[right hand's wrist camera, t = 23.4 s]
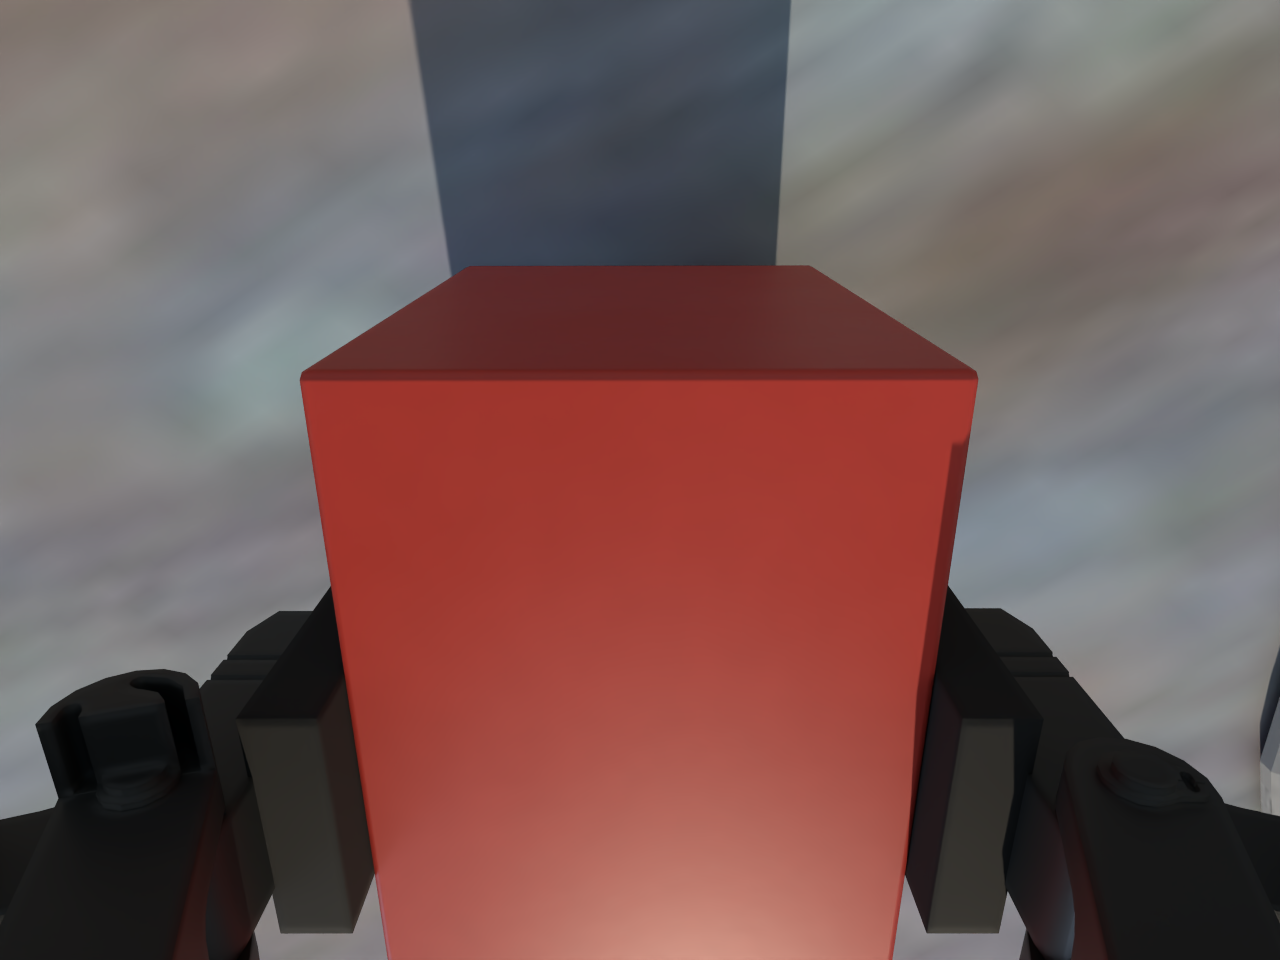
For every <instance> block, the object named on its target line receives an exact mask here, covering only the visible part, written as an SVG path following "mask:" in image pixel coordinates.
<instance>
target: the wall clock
mask: <svg viewBox="0 0 1280 960" xmlns="http://www.w3.org/2000/svg"><path fill="white" fill-rule="evenodd" d="M1260 786H1261V812H1263V813H1268V814H1272V815H1277V816H1280V698H1279V701H1278V705H1277V708H1276V711H1275V714H1274V717H1273V721H1272V724H1271V727H1270V730H1269V733H1268V737H1267V740H1266V743H1265V746H1264V749H1263V752H1262V756H1261V759H1260Z"/></svg>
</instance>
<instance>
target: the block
mask: <svg viewBox="0 0 1280 960" xmlns="http://www.w3.org/2000/svg"><path fill="white" fill-rule="evenodd" d="M977 384H978V376H977V372H976V371H975V370H973V369H972V368H970V367H969V366H967V365H966V364H964V363H962V362H961V361H959V360H958V359H956V358H955V357H953V356H951V355H950V354H948V353H947V352H945V351H943V350H942V349H940V348H939V347H937V346H936V345H934V344H932V343H931V342H929V341H928V340H926V339H925V338H923V337H921V336H920V335H918V334H917V333H915V332H914V331H912V330H910V329H909V328H907V327H906V326H904V325H903V324H901V323H899V322H898V321H896V320H895V319H893V318H892V317H890V316H888V315H887V314H885V313H884V312H882V311H881V310H879V309H877V308H876V307H874V306H873V305H871V304H870V303H868V302H866V301H865V300H863V299H862V298H860V297H859V296H857V295H855V294H854V293H852V292H851V291H849V290H848V289H846V288H844V287H843V286H841V285H840V284H838V283H837V282H835V281H833V280H832V279H830V278H829V277H827V276H826V275H824V274H822V273H821V272H819V271H818V270H816V269H815V268H813V267H811V266H469V267H467V268H465V269H463V270H462V271H460V272H459V273H457V274H456V275H454V276H452V277H451V278H449V279H448V280H446V281H445V282H443V283H441V284H440V285H438V286H437V287H435V288H434V289H432V290H430V291H429V292H427V293H426V294H424V295H423V296H421V297H419V298H418V299H416V300H415V301H413V302H412V303H410V304H408V305H407V306H405V307H404V308H402V309H401V310H399V311H397V312H396V313H394V314H393V315H391V316H390V317H388V318H386V319H385V320H383V321H382V322H380V323H379V324H377V325H375V326H374V327H372V328H371V329H369V330H368V331H366V332H364V333H363V334H361V335H360V336H358V337H357V338H355V339H353V340H352V341H350V342H349V343H347V344H346V345H344V346H342V347H341V348H339V349H338V350H336V351H335V352H333V353H331V354H330V355H328V356H327V357H325V358H324V359H322V360H320V361H319V362H317V363H316V364H314V365H312V366H311V367H309V368H308V369H306V370H305V371H303V372H302V374H301V377H300V385H301V391H302V398H303V404H304V411H305V418H306V424H307V431H308V437H309V444H310V450H311V457H312V464H313V470H314V477H315V483H316V490H317V496H318V503H319V510H320V516H321V523H322V529H323V536H324V542H325V549H326V556H327V562H328V569H329V575H330V582H331V588H332V595H333V602H334V608H335V615H336V621H337V628H338V634H339V641H340V648H341V654H342V661H343V667H344V674H345V680H346V687H347V694H348V700H349V707H350V713H351V720H352V726H353V733H354V740H355V746H356V753H357V759H358V766H359V773H360V779H361V786H362V792H363V799H364V805H365V812H366V819H367V825H368V832H369V838H370V845H371V851H372V858H373V865H374V871H375V878H376V884H377V891H378V897H379V904H380V911H381V917H382V924H383V930H384V937H385V943H386V950H387V957H388V960H892V957H893V951H894V944H895V937H896V930H897V924H898V917H899V910H900V903H901V897H902V890H903V883H904V876H905V870H906V863H907V856H908V849H909V843H910V836H911V829H912V823H913V816H914V809H915V802H916V796H917V789H918V782H919V775H920V769H921V762H922V755H923V748H924V742H925V735H926V728H927V721H928V715H929V708H930V701H931V694H932V688H933V681H934V674H935V667H936V661H937V654H938V647H939V640H940V634H941V627H942V620H943V613H944V607H945V600H946V593H947V587H948V580H949V573H950V566H951V560H952V553H953V546H954V539H955V533H956V526H957V519H958V512H959V506H960V499H961V492H962V485H963V479H964V472H965V465H966V458H967V452H968V445H969V438H970V431H971V425H972V418H973V411H974V404H975V398H976V391H977Z"/></svg>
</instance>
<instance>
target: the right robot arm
mask: <svg viewBox="0 0 1280 960" xmlns="http://www.w3.org/2000/svg"><path fill="white" fill-rule="evenodd" d="M227 656H228V658H227V660H223V661H222V662H221V664H220V665H219V666H218V667H217V668H216V670H215V671H214V672H213V673H212V674H211V680H207V681H206V682H205V683H204V684H203V685H202V687H201V688H200V689H199V685H198V683H197V682H196V681H195V680H194V679H192V678H191V677H190V676H188V675H187V674H186V673H182V672H176V671H171V670H166V669H157V670H141V671H133V672H129V673H125V674H121V675H117V676H113V677H108V678H105V679H102V680H100V681H98V682H95V683H93V684H90V685H88V686H86V687H83V688H81V689H79V690H76V691H74V692H73V693H71V694H70V695H68V696H67V697H65V698H64V699H62V700H61V701H59V702H58V703H56V704H54V705H53V706H51V707H50V708H49V710H48V711H47V712H46V713H45V714H44V715H43V716H42V717H41V719H40V720H39V721H38V722H37V723H36V724H35V725H36V728H37V732H38V735H39V738H40V741H41V744H42V747H43V750H44V754H45V757H46V760H47V763H48V766H49V769H50V773H51V776H52V779H53V782H54V785H55V788H56V792H57V795H58V798H59V799H58V801H57V803H56V805H55V807H54V808H50V809H47V810H43V811H39V812H34V813H30V814H25V815H20V816H16V817H11V818H6V819H2V820H0V960H260V959H259V952H258V946H257V941H256V937H255V933H254V930H255V928H256V926H257V924H258V922H259V920H260V918H261V915H262V913H263V911H264V909H265V907H266V905H267V903H268V901H269V899H270V897H271V895H272V894H273V899H274V904H275V909H276V913H277V918H278V923H279V928H280V932H281V933H353V931H354V928H355V925H356V923H357V920H358V917H359V915H360V912H361V909H362V906H363V904H364V901H365V898H366V896H367V893H368V890H369V887H370V885H371V882H372V879H373V877H374V874H375V871H374V865H373V858H372V851H371V845H370V838H369V832H368V825H367V819H366V812H365V805H364V799H363V792H362V786H361V779H360V773H359V766H358V759H357V753H356V746H355V740H354V733H353V726H352V720H351V713H350V707H349V700H348V694H347V687H346V680H345V674H344V667H343V661H342V654H341V648H340V641H339V634H338V628H337V621H336V615H335V608H334V602H333V595H332V588H331V587H330V588H329V589H328V591H327V592H326V594H325V595H324V596H323V598H322V599H321V601H320V602H319V603H318V605H317V606H316V608H315V609H314V610H313V611H279V612H277V613H275V614H274V615H272V616H271V617H269V618H268V619H266V620H264V621H263V622H261V623H260V624H258V625H256V626H255V627H253V628H252V629H250V630H249V631H247V632H246V633H245V635H244V636H243V637H242V638H241V639H240V641H239V642H238V643H237V644H236V645H235V647H234V648H233V649H232V650H231V652H230V653H229V654H228V655H227ZM905 875H906V878H907V881H908V884H909V886H910V889H911V892H912V894H913V897H914V900H915V903H916V905H917V908H918V911H919V913H920V916H921V919H922V922H923V924H924V927H925V930H926V932H927V933H999V929H1000V925H1001V920H1002V915H1003V910H1004V906H1005V901H1006V896H1007V891H1008V892H1009V894H1010V896H1011V898H1012V900H1013V902H1014V904H1015V906H1016V908H1017V910H1018V912H1019V914H1020V916H1021V918H1022V920H1023V922H1024V924H1025V926H1026V933H1025V937H1024V941H1023V946H1022V950H1021V955H1020V959H1019V960H1280V816H1277V815H1272V814H1268V813H1263V812H1258V811H1254V810H1249V809H1244V808H1240V807H1236V806H1232V805H1229V804H1225V803H1224V802H1223V799H1222V797H1221V796H1220V795H1219V793H1218V792H1217V791H1216V789H1215V788H1214V787H1213V785H1212V784H1211V783H1210V781H1209V780H1208V779H1207V778H1206V777H1205V776H1204V775H1202V774H1201V773H1200V772H1198V771H1197V770H1196V769H1194V768H1193V767H1192V766H1190V765H1189V764H1188V763H1186V762H1185V761H1184V760H1181V759H1179V758H1177V757H1175V756H1173V755H1171V754H1169V753H1167V752H1165V751H1163V750H1161V749H1159V748H1156V747H1153V746H1150V745H1146V744H1143V743H1139V742H1135V741H1132V740H1128V739H1124V738H1123V736H1122V735H1121V734H1120V733H1119V732H1118V730H1117V729H1116V728H1115V727H1114V726H1113V724H1112V723H1111V722H1110V721H1109V720H1108V718H1107V717H1106V716H1105V715H1104V714H1103V712H1102V711H1101V710H1100V709H1099V708H1098V706H1097V705H1096V704H1095V703H1094V702H1093V700H1092V699H1091V698H1090V697H1089V696H1088V694H1087V693H1086V692H1085V691H1084V690H1083V688H1082V687H1081V686H1080V685H1079V684H1078V682H1077V681H1076V680H1075V679H1074V678H1073V677H1069V672H1068V670H1067V669H1066V668H1065V667H1064V665H1063V664H1062V663H1061V662H1060V661H1059V659H1058V658H1057V657H1053V655H1052V651H1051V650H1050V649H1049V647H1048V646H1047V645H1046V644H1045V643H1044V641H1043V640H1042V639H1041V638H1040V637H1039V635H1038V634H1037V633H1036V632H1035V631H1034V629H1033V628H1031V627H1029V626H1028V625H1026V624H1025V623H1023V622H1021V621H1020V620H1018V619H1017V618H1015V617H1014V616H1012V615H1010V614H1009V613H1007V612H1006V611H1004V610H1002V609H1001V608H964V607H963V606H962V604H961V603H960V601H959V600H958V599H957V597H956V596H955V595H954V593H953V592H952V590H951V589H950V588H949V586H948V587H947V593H946V600H945V607H944V613H943V620H942V627H941V634H940V640H939V647H938V654H937V661H936V667H935V674H934V681H933V688H932V694H931V701H930V708H929V715H928V721H927V728H926V735H925V742H924V748H923V755H922V762H921V769H920V775H919V782H918V789H917V796H916V802H915V809H914V816H913V823H912V829H911V836H910V843H909V849H908V856H907V863H906V870H905Z"/></svg>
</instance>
